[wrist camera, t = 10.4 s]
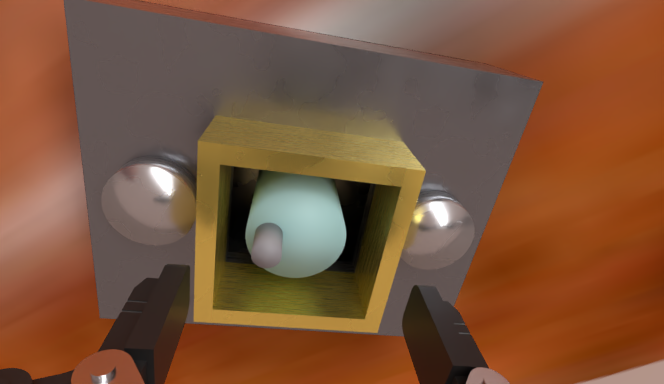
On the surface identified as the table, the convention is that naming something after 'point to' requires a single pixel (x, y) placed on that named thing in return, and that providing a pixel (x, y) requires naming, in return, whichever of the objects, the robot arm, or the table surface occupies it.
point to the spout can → (295, 224)
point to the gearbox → (282, 160)
